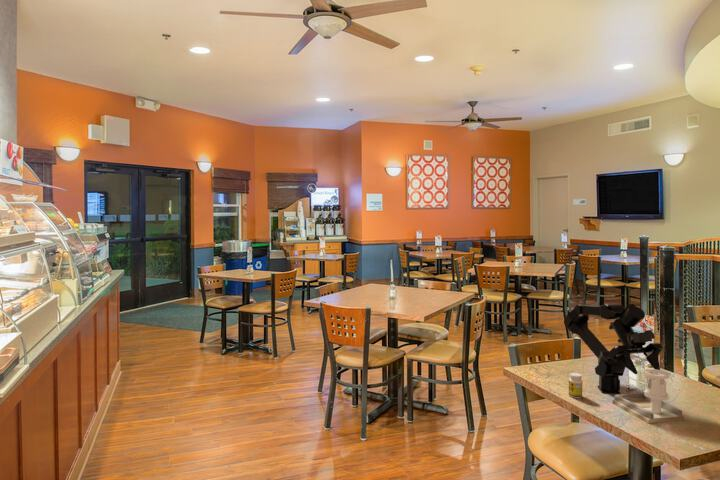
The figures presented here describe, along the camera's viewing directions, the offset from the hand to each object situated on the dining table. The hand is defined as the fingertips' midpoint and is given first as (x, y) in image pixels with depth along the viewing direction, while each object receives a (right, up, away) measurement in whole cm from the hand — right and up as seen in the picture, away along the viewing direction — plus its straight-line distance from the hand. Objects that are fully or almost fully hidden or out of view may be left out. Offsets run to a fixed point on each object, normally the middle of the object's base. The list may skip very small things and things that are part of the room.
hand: (648, 372), depth 172 cm
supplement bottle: (-19, -13, +15) cm, 27 cm away
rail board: (0, -14, +1) cm, 14 cm away
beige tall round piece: (+1, -13, -3) cm, 13 cm away
